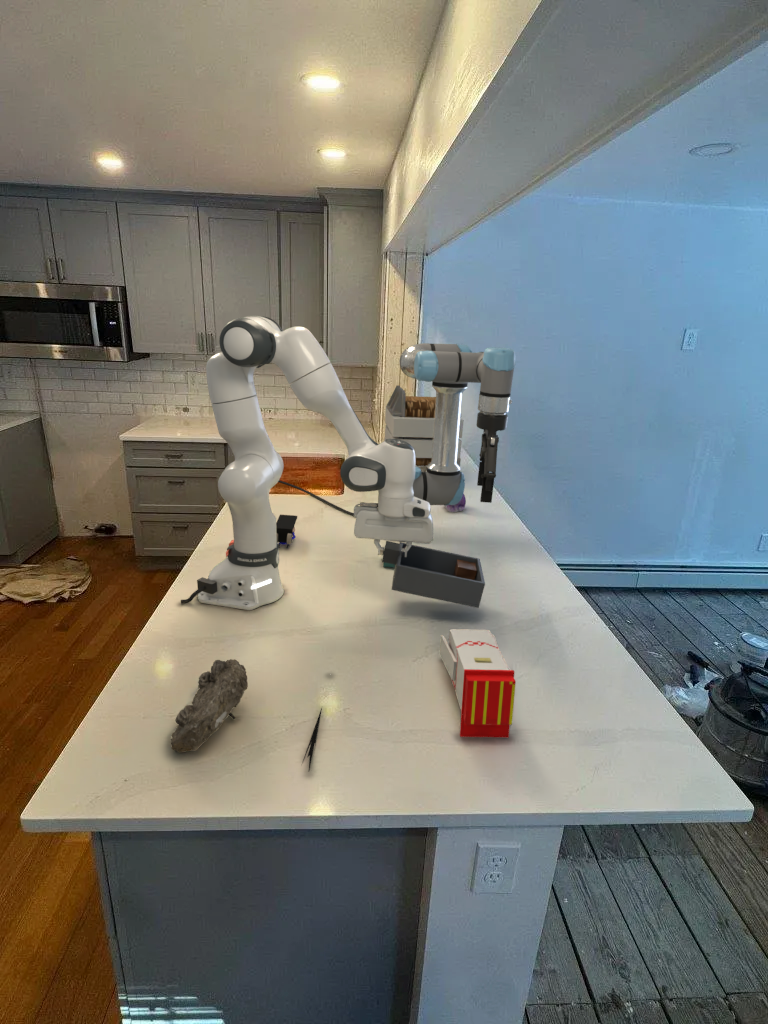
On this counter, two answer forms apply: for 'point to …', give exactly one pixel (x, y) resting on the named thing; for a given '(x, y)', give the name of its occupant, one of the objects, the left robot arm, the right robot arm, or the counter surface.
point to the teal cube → (388, 564)
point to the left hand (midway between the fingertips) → (392, 555)
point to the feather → (313, 740)
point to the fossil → (210, 704)
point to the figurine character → (285, 529)
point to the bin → (433, 574)
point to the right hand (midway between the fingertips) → (483, 493)
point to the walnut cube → (465, 569)
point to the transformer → (414, 424)
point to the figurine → (457, 505)
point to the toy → (479, 682)
